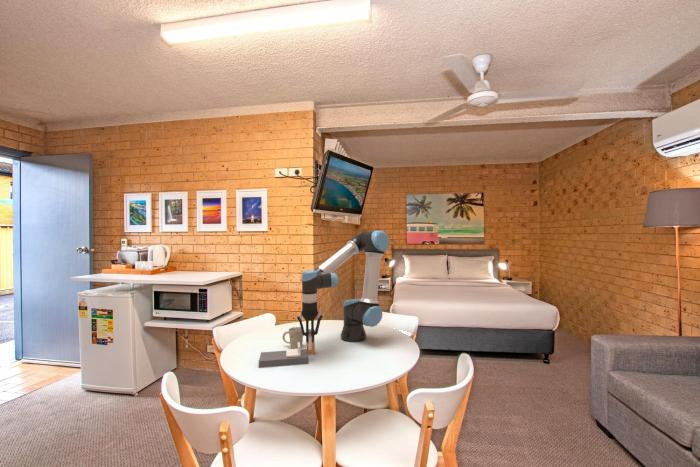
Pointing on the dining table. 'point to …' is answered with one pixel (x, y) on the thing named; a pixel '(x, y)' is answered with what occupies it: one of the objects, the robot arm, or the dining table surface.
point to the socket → (281, 359)
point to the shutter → (293, 352)
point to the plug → (312, 345)
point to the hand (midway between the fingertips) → (310, 348)
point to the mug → (294, 337)
